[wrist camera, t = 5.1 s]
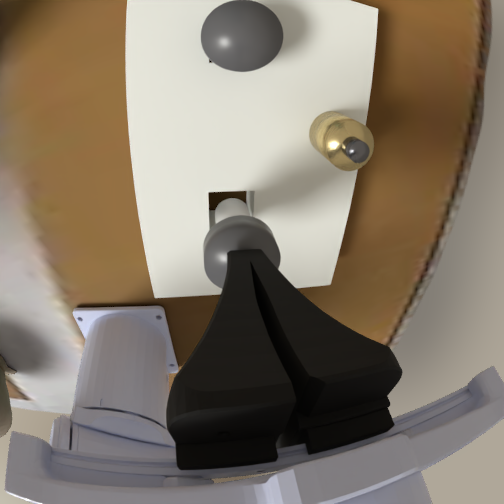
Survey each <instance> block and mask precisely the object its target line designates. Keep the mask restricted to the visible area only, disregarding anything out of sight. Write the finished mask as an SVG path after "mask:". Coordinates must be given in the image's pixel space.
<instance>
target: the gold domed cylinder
mask: <svg viewBox="0 0 504 504" xmlns="http://www.w3.org/2000/svg"><path fill="white" fill-rule="evenodd" d="M309 138H310V142H311V144H312V146H313V147H314V148H315V149H316V150H317V151H318V152H319V153H320V154H321V155H323V156H324V157H325V158H326V159H327V160H328V161H330V162H331V163H332V164H333V165H334V166H335V167H337V168H338V169H340V170H343V171H354V170H357V169H359V168H361V167H362V166H364V165H365V164H366V163H367V162H368V161H369V159H370V157H371V155H372V153H373V149H374V139H373V136H372V133H371V131H370V130H369V129H368V128H367V127H366V126H365V125H364V124H362V123H360V122H358V121H356V120H354V119H351V118H349V117H347V116H345V115H343V114H341V113H338V112H334V111H328V112H324V113H322V114H320V115H319V116H317V117H316V118H315V119H314V121H313V122H312V124H311V126H310V130H309Z"/></svg>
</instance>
